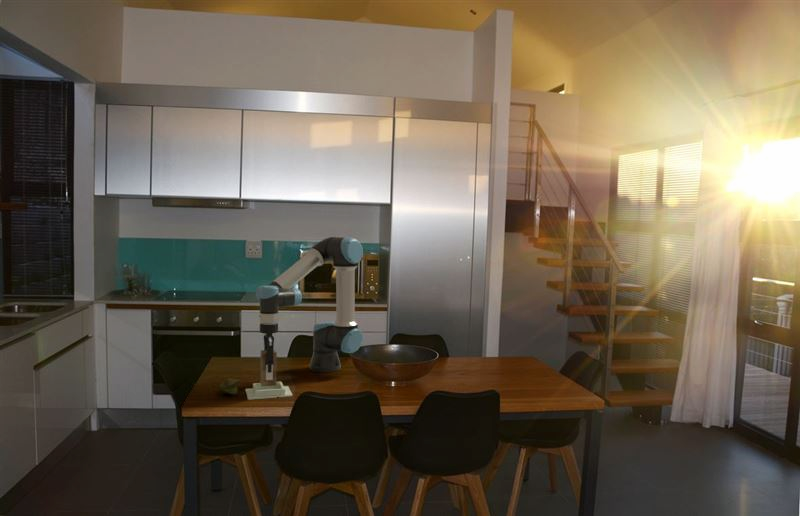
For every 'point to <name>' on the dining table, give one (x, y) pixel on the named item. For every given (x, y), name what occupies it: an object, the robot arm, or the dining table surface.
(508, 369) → the dining table surface
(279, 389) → the holder plate
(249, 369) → the dining table surface
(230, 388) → the fruit
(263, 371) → the wooden square post
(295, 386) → the dining table surface
